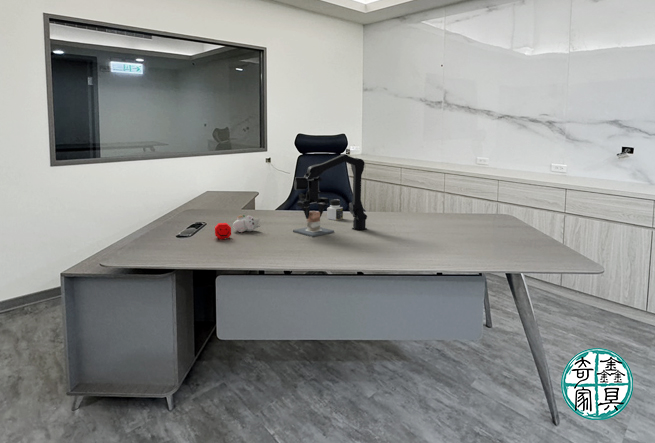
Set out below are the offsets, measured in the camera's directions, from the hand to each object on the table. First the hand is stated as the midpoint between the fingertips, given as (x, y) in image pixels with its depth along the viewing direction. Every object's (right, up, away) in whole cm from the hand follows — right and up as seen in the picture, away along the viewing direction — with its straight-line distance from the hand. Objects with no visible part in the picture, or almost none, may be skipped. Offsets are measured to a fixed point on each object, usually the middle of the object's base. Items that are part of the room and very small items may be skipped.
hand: (313, 217), depth 270 cm
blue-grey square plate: (0, -8, +2) cm, 8 cm away
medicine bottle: (+12, -1, +37) cm, 39 cm away
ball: (-46, -11, -13) cm, 49 cm away
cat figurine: (-37, -8, +3) cm, 38 cm away
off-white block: (0, -7, +2) cm, 7 cm away
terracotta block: (0, -2, 0) cm, 2 cm away
